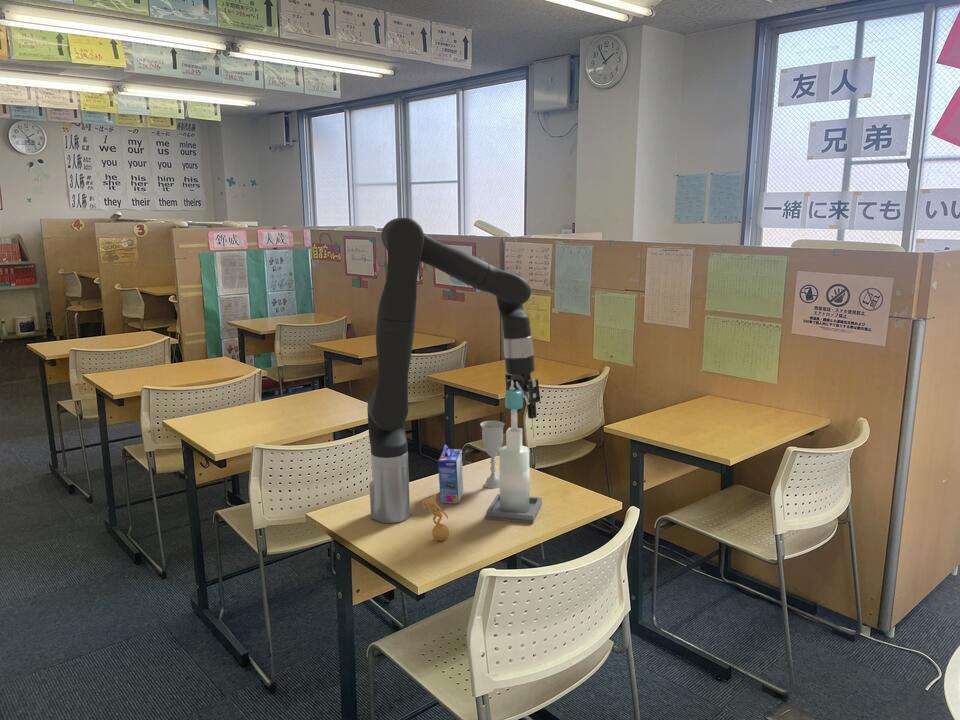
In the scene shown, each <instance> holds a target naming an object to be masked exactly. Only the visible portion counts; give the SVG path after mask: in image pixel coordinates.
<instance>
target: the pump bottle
mask: <svg viewBox="0 0 960 720" xmlns="http://www.w3.org/2000/svg"><path fill="white" fill-rule="evenodd" d="M505 434H506V435H505V437H506V438H505V439H506V440H505V441H506V443H505V445H504V446H501V448H500V449H499V453H498V454H499V467H498V468H499V469H498V470H499V473H498V474H499V476H498V477H499V480H500V487H499V493H497V494H496V495H495V497H494V499H493V500H492V502H491V503H490V505H489V506H488V508H487V510H486V512H485V513H486V514H485V515H486V517H485V518H486V519H487V520H496V521H505V522H506V521H507V522H515V523H516V522H517V523H527V524H534V523H535V520H536V518H537V516H538V513H539V511H540V509H541V507H542V504H543V503H542V497H539V496H530V481H531V479H530V477H531V476H530V475H531V473H530V470H531V469H530V448H529V447H527V446H525V445H523V428H519V427H517V429H516V430H512V429H511V427H508V428H507V430H506V431H505Z"/></svg>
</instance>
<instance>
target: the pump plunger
mask: <svg viewBox="0 0 960 720" xmlns="http://www.w3.org/2000/svg"><path fill="white" fill-rule="evenodd" d="M504 403H505V406H504V407H505V408H506V409H509V410H510V428H511V429H512V430H516V429H517V428H518V412H517V409H521V410H522V409H523V408H524V398H523V391H522V390H516V389H512V390H505V393H504Z"/></svg>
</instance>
